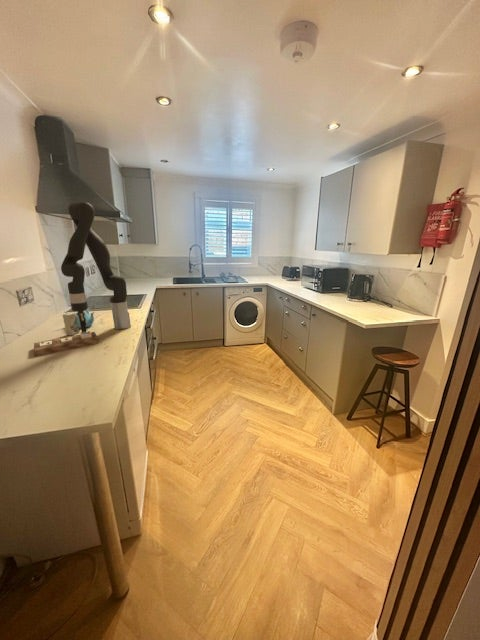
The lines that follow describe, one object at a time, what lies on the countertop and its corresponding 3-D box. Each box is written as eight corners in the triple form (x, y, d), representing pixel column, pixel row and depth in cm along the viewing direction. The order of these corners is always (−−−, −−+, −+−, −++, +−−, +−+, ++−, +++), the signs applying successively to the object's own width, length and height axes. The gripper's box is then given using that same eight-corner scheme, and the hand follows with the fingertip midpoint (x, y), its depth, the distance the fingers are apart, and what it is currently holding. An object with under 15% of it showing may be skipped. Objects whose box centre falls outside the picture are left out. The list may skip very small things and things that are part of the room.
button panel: (95, 336, 149) (94, 331, 148) (98, 342, 140) (97, 337, 139) (35, 348, 133) (34, 343, 132) (35, 356, 124) (33, 350, 123)
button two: (53, 346, 135) (51, 340, 134) (53, 349, 131) (51, 342, 130) (41, 348, 132) (39, 342, 131) (41, 352, 128) (39, 345, 127)
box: (72, 335, 150) (68, 315, 147) (66, 335, 151) (61, 314, 147) (79, 332, 155) (75, 312, 152) (73, 332, 156) (69, 312, 152)
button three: (90, 336, 145) (89, 330, 144) (92, 339, 141) (91, 332, 140) (80, 338, 142) (79, 332, 141) (81, 341, 138) (80, 334, 137)
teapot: (71, 331, 157) (68, 316, 154) (66, 325, 168) (63, 311, 164) (97, 326, 167) (94, 311, 164) (91, 321, 177) (88, 307, 174)
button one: (72, 342, 140) (71, 336, 139) (73, 345, 136) (72, 339, 135) (62, 345, 137) (60, 338, 136) (62, 348, 133) (61, 341, 132)
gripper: (88, 302, 132) (93, 333, 137) (85, 298, 142) (90, 327, 147) (71, 304, 127) (77, 336, 132) (69, 299, 138) (75, 329, 143)
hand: (84, 331), depth 140 cm, fingers closed
